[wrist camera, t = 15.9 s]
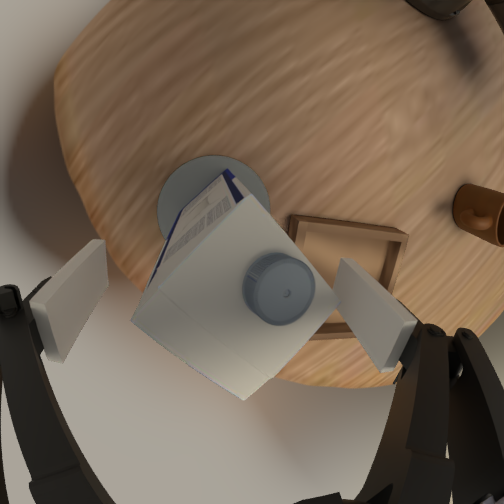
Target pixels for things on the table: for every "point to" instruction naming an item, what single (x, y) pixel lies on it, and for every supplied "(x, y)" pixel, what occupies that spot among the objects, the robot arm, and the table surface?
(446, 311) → the table surface
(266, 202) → the mat
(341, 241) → the crate
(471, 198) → the mug
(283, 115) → the table surface
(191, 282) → the milk carton
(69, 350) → the robot arm
